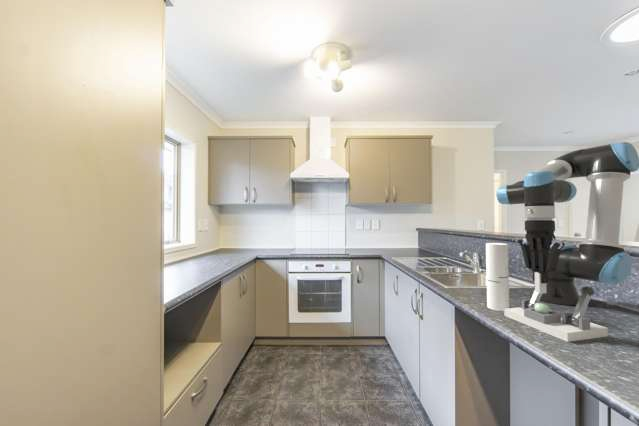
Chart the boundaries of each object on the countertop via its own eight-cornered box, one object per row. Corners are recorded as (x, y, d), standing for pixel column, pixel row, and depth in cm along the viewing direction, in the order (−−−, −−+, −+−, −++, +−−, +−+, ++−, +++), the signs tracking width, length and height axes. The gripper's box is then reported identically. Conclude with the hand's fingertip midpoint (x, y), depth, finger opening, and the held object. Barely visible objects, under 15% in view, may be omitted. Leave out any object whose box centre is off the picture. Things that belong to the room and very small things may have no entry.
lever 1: (529, 309, 92) (543, 278, 94) (538, 312, 89) (552, 280, 91) (524, 306, 92) (537, 274, 93) (532, 309, 89) (546, 276, 90)
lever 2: (571, 324, 79) (586, 287, 81) (583, 328, 77) (598, 290, 78) (565, 320, 79) (580, 283, 80) (576, 324, 76) (592, 286, 78)
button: (540, 311, 86) (540, 302, 86) (552, 315, 82) (552, 306, 82) (531, 312, 85) (531, 303, 85) (543, 316, 81) (543, 307, 81)
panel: (538, 312, 96) (538, 296, 96) (607, 336, 76) (607, 316, 76) (504, 315, 93) (504, 299, 93) (567, 341, 73) (567, 321, 74)
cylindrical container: (513, 311, 97) (511, 244, 97) (492, 310, 98) (490, 244, 98) (503, 305, 104) (502, 242, 104) (484, 304, 105) (482, 242, 105)
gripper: (511, 219, 90) (512, 288, 89) (551, 219, 77) (553, 299, 76) (528, 219, 91) (530, 286, 91) (571, 219, 78) (573, 298, 78)
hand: (540, 292), depth 83 cm, fingers closed
